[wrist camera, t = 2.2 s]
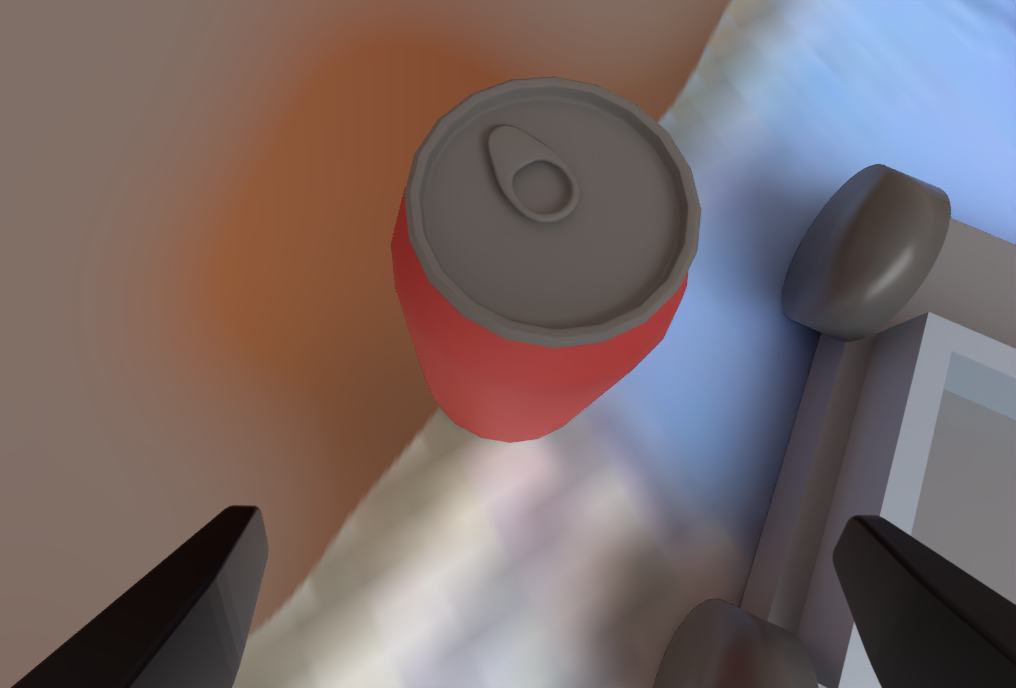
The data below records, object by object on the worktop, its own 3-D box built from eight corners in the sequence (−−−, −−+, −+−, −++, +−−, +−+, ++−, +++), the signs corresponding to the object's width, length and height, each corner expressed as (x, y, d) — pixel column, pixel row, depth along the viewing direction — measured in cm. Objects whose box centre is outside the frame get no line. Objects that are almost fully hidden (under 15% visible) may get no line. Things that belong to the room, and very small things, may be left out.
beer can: (528, 247, 24) (589, 1, 12) (628, 379, 22) (801, 246, 11) (389, 335, 22) (305, 151, 11) (487, 480, 21) (513, 450, 9)
